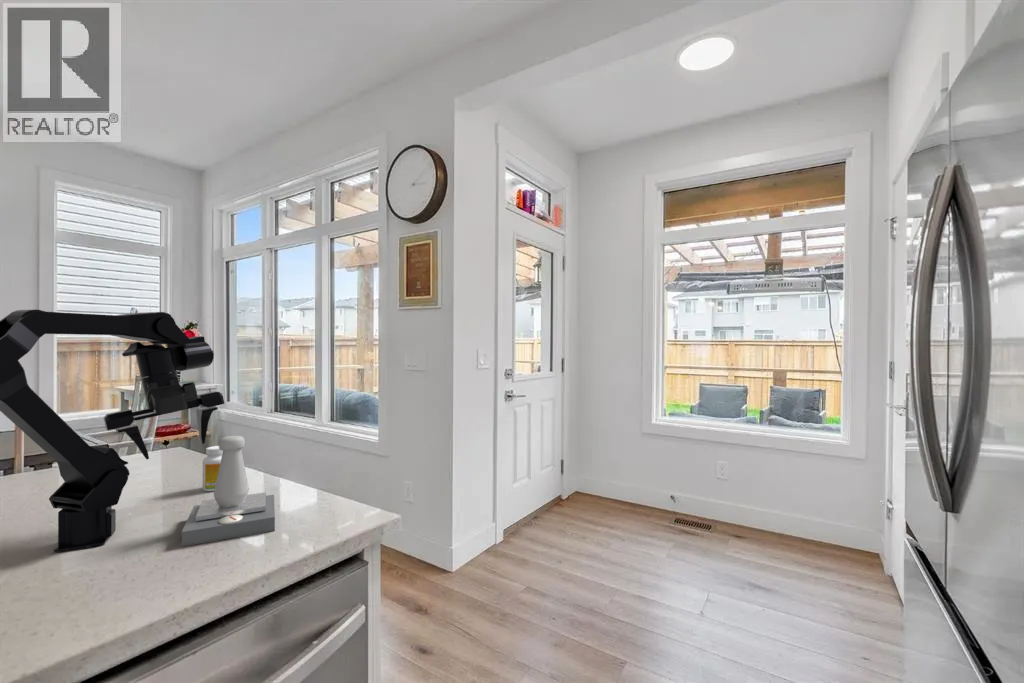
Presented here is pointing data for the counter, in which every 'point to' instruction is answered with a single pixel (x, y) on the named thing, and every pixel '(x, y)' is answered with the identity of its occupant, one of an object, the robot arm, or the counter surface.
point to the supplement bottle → (211, 467)
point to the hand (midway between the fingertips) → (176, 451)
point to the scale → (228, 525)
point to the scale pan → (212, 509)
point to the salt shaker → (231, 473)
